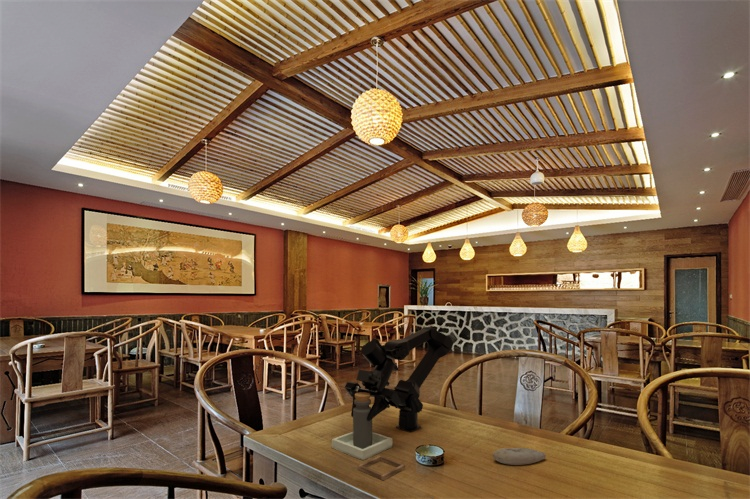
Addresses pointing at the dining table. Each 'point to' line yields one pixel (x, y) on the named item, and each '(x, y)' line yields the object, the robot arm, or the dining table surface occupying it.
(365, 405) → the bottle
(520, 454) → the decorative stone
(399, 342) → the robot arm
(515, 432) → the dining table surface
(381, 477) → the seat frame
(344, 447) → the tray
